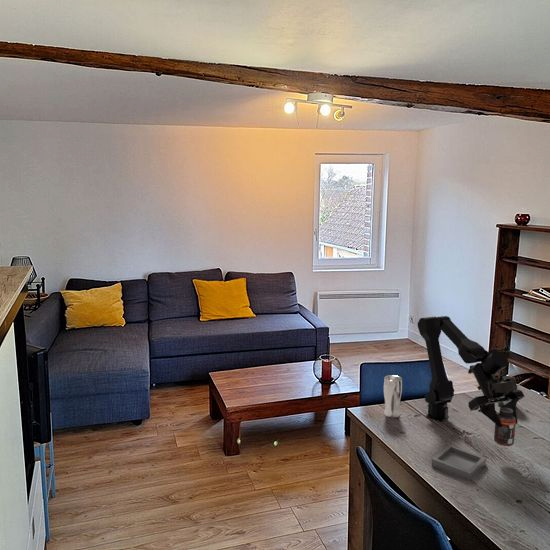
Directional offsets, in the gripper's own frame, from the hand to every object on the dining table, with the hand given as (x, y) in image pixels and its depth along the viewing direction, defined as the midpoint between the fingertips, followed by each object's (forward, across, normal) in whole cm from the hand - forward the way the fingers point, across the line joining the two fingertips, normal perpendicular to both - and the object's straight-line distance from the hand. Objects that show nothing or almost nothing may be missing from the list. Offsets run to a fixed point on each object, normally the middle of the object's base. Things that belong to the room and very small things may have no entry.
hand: (508, 425), depth 161 cm
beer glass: (-21, -16, +40) cm, 47 cm away
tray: (+7, -16, +11) cm, 21 cm away
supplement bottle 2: (+4, 0, +6) cm, 7 cm away
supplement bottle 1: (-14, +33, +33) cm, 49 cm away
